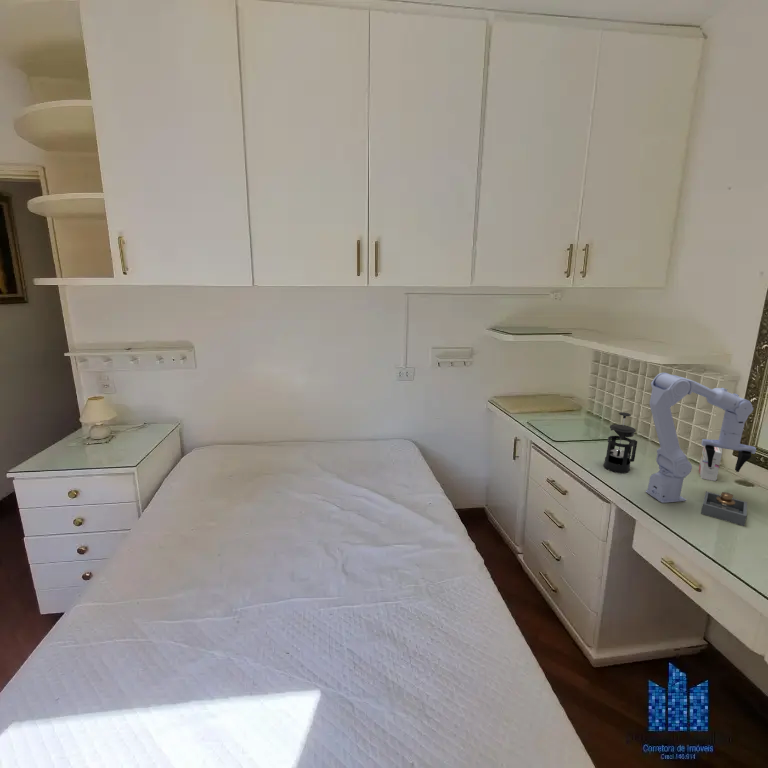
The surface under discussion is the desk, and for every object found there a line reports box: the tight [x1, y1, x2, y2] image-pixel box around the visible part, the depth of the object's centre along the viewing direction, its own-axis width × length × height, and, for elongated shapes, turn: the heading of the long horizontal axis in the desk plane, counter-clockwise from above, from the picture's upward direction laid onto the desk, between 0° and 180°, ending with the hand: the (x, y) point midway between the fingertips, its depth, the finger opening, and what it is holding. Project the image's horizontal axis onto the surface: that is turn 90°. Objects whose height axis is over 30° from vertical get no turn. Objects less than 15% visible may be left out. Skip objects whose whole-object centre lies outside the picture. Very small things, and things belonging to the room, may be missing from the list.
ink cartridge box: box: [698, 446, 724, 482], centre depth 166 cm, size 9×5×15 cm, turn 151°
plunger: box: [709, 491, 739, 513], centre depth 141 cm, size 8×8×6 cm
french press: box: [603, 411, 638, 474], centre depth 170 cm, size 12×9×23 cm
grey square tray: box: [700, 490, 748, 527], centre depth 141 cm, size 11×11×4 cm
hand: (722, 468), depth 150 cm, fingers open, 7 cm apart
